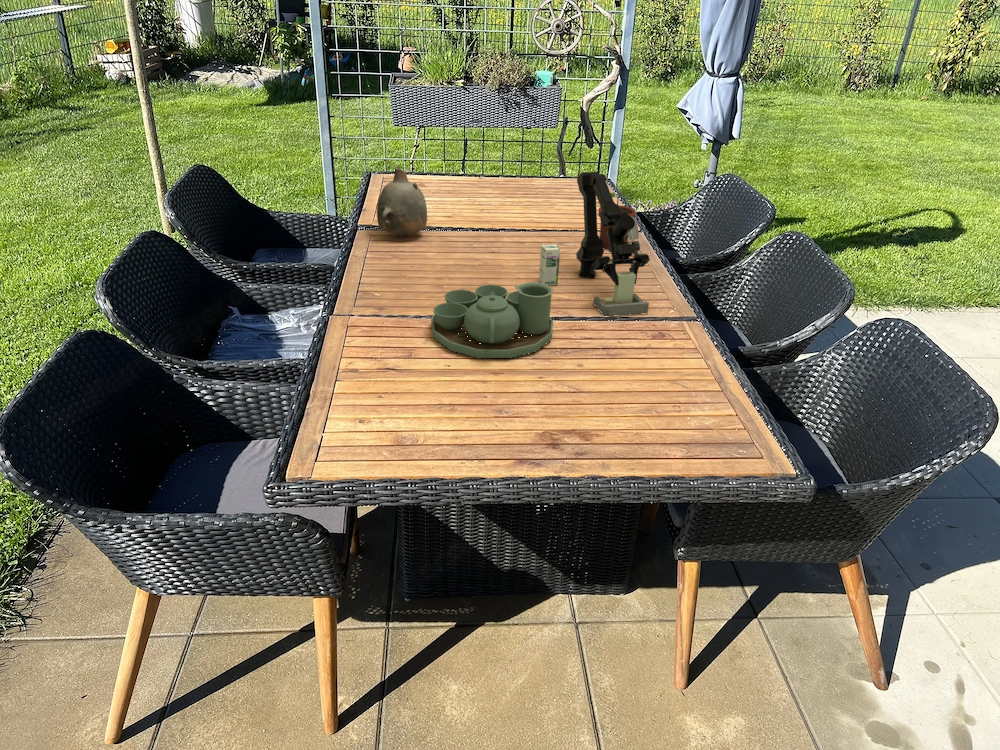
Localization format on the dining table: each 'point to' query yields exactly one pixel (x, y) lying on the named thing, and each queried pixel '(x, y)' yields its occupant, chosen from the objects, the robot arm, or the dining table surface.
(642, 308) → the frame
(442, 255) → the dining table surface
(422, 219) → the jug
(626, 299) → the green block
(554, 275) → the syrup box
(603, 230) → the potted plant
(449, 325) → the tea set
